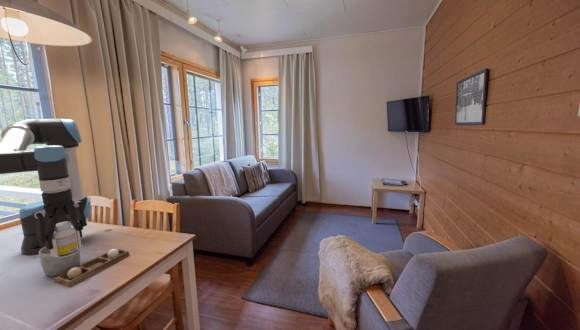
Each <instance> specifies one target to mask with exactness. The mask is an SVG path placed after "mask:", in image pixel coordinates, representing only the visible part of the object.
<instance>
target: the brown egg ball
mask: <svg viewBox="0 0 580 330" xmlns="http://www.w3.org/2000/svg"><path fill="white" fill-rule="evenodd" d="M81 272H82V271H81V269H80V268H79V267H74V268H71V269H70V270H69V271H68V273H67V276H68V278H70V279H74V278H76V277H78V276H80V275H81Z"/></svg>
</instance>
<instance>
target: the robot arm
mask: <svg viewBox="0 0 580 330" xmlns="http://www.w3.org/2000/svg"><path fill="white" fill-rule="evenodd" d="M82 142H83V140H82V136H81V133H80V129H79V127H78V124H77V122H76V120H73V119H71V118H70V119H69V118H27V119H23V120H22V119H21V120H19V121H16V122H14V123H11V124H9V125H7V126H6V127H5V128H4V129H3V130H2V131H1V139H0V175H5V174H6V175H7V174H15V173H26V172H37V174H38V182H39V187H40V192H42V193H41V198H42V200H39V201H36V202H32V203H28V204H27V205H24V206H22V207H21V208H19V211H18V212H19V213H18V214H19V218H18V219H19V220H20V224H21V228H22V229H21V231H22V233H23V239H22V243H21V246H20V251H21V255H28V256H29V255H30V256H32V255H39V251H40V250H41V249H42V248H44V247H46V248H47V249H49V250H50V253H51V256H52V257H59V256H58V250H57V244H56V239H53V235H54V231H55V226H56V224H57V223H60V222H66V221H70V222H71V224H72V226H71V227H72V228H74V229H75V230H76V235H77V241H78V247H79V249H80V248H82V241H81V240H82V238H83V230H84V227H86V226H87V225H88V223H87V220H88V219H89V218H90V217H91V197H90V196H87V194H86V193H84V192H83V190H82V189H83V187H82V183H81V176H80V171H79V164H78V157H77V151H76V149H78V148H79V147H80V145H79V144H81V143H82ZM30 145H40V146H35V147H34V149H31V150H27V149H28V147H29V146H30Z"/></svg>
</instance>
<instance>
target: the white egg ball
mask: <svg viewBox="0 0 580 330" xmlns="http://www.w3.org/2000/svg"><path fill="white" fill-rule="evenodd" d="M117 249H118V248H117ZM117 249H115V248H111V249H109V251H107V252H108V253H107V252H106V253H107V256H108V258H110V259H113V258H115V257H117V256H118V255H119V251H118V250H117Z"/></svg>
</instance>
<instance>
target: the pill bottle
mask: <svg viewBox="0 0 580 330" xmlns="http://www.w3.org/2000/svg"><path fill="white" fill-rule="evenodd" d="M53 239H56V244H57V250H58V256H59V257H58V258H64V257H68V256H71V255H73V254H75V253H77V252H78V250H80V248H79V247H78V241H77V235H76V230H75V229H74V227H73V226H72V224H71V222H70V221H66V222H60V223H57V224H56V226H55V231H54V235H53Z"/></svg>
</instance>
